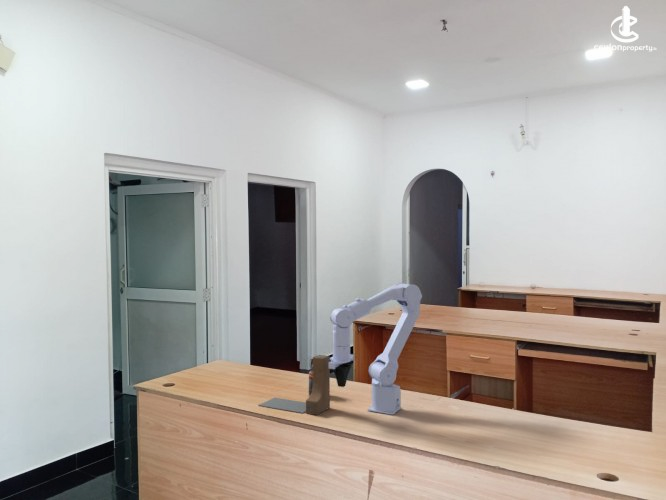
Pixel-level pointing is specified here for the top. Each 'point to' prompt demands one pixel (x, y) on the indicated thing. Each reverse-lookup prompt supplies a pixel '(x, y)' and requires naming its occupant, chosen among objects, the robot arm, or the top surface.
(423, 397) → the top surface
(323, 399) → the wooden block
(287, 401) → the mat
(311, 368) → the supplement bottle
